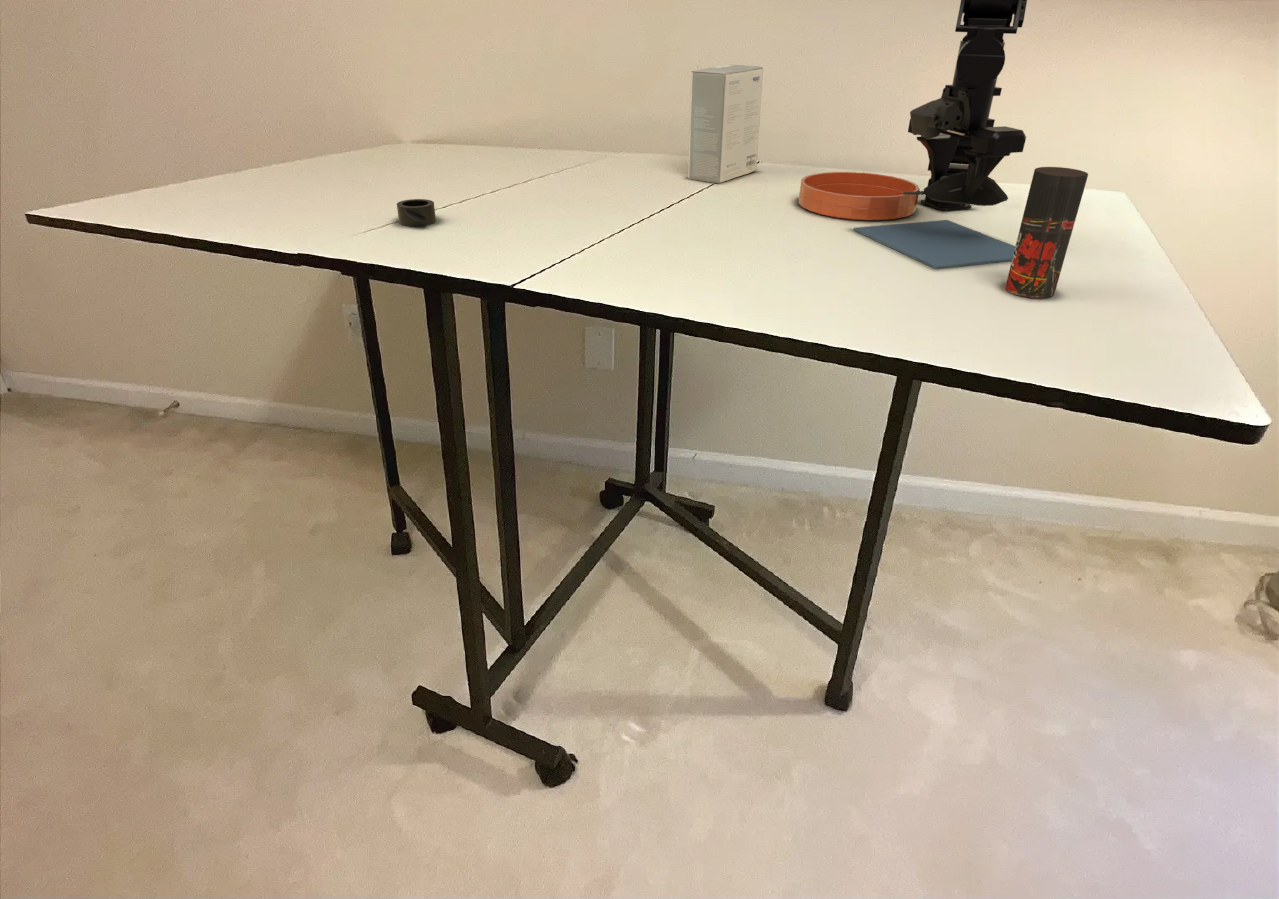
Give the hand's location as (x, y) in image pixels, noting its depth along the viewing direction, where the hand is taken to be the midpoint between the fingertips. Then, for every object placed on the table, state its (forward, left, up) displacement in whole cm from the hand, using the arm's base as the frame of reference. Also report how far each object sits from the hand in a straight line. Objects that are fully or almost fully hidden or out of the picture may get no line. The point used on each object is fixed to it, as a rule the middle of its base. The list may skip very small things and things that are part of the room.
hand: (951, 193), depth 120 cm
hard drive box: (+12, -55, -8) cm, 57 cm away
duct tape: (+75, -35, -8) cm, 83 cm away
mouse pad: (0, 0, -8) cm, 8 cm away
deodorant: (+3, +22, -8) cm, 24 cm away
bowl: (0, -24, -8) cm, 25 cm away
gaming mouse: (-1, 0, -1) cm, 1 cm away
